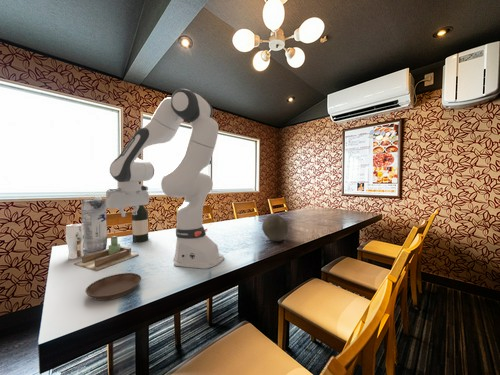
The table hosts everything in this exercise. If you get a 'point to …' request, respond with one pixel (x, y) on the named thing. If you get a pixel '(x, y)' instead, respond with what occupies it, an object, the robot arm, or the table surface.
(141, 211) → the wine bottle
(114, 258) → the cradle
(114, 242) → the bottle
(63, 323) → the table surface
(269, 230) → the cantaloupe
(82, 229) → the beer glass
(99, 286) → the saucer
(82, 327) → the table surface
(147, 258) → the table surface
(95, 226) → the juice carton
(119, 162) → the robot arm
